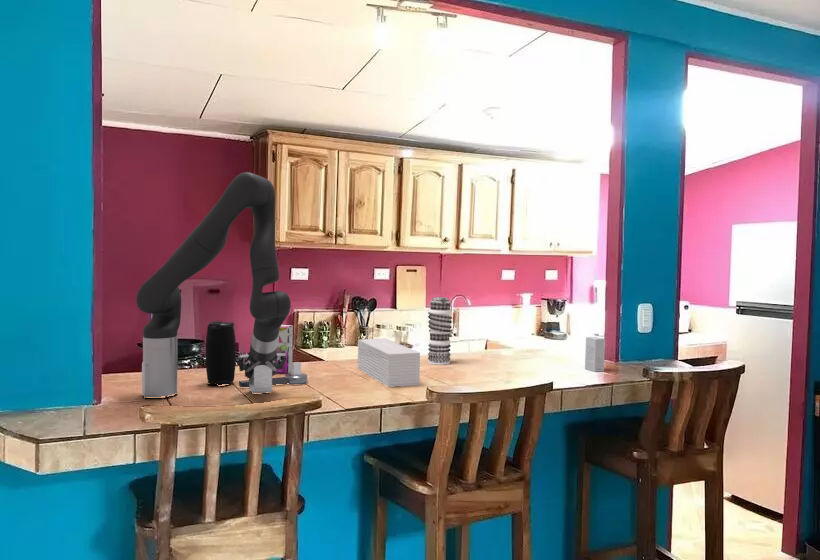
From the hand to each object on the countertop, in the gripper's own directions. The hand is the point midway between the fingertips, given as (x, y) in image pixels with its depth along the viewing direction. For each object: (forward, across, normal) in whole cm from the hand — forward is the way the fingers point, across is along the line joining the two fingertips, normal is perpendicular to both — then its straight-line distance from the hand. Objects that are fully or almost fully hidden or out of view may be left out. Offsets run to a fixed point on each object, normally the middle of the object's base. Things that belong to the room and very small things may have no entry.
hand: (259, 375), depth 191 cm
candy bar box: (+23, -8, -16) cm, 29 cm away
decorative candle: (+25, -71, -18) cm, 77 cm away
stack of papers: (+12, -44, -4) cm, 45 cm away
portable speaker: (+13, +10, -5) cm, 17 cm away
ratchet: (+9, -5, -2) cm, 10 cm away
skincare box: (+5, -121, +2) cm, 121 cm away
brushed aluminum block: (+2, 0, +5) cm, 5 cm away
